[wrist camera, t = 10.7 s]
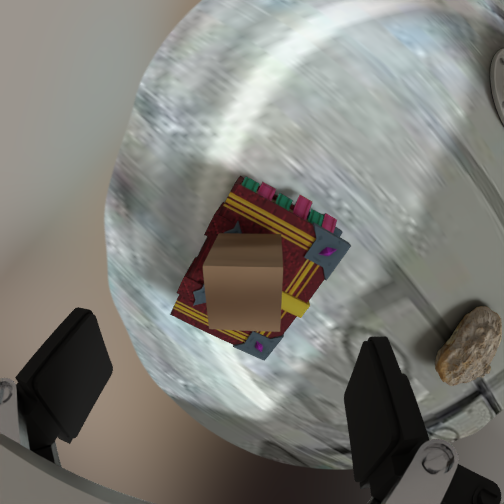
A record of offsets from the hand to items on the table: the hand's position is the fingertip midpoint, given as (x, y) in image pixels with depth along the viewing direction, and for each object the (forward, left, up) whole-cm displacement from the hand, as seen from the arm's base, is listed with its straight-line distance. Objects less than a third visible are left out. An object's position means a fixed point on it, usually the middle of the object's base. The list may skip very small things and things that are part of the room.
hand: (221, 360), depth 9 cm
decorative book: (+6, 0, -20) cm, 21 cm away
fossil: (+16, +31, -20) cm, 41 cm away
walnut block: (+4, 0, -15) cm, 16 cm away
